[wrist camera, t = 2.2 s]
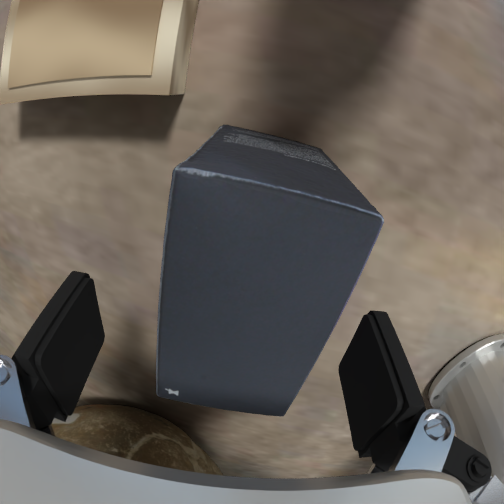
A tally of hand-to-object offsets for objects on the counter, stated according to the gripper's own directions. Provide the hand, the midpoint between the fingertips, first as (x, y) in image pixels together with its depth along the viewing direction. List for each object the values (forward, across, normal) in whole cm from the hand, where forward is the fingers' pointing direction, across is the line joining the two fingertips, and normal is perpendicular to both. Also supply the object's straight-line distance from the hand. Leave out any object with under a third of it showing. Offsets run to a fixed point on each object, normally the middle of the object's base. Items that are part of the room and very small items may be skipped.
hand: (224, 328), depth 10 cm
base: (+11, +10, -12) cm, 19 cm away
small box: (+11, -1, 0) cm, 11 cm away
